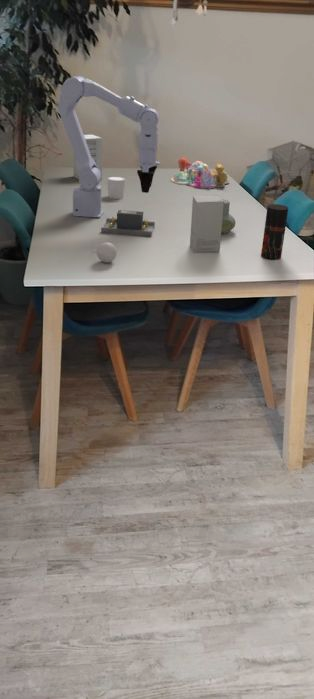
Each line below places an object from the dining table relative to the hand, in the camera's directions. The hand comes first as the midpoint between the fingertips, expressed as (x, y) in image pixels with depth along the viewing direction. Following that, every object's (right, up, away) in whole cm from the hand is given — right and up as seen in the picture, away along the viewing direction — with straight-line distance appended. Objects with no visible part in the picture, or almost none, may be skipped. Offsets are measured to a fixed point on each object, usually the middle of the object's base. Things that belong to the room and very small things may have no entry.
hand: (146, 189), depth 216 cm
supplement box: (-26, +18, +53) cm, 62 cm away
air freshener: (+24, -15, -4) cm, 28 cm away
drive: (-5, -14, -8) cm, 17 cm away
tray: (-6, -15, -8) cm, 18 cm away
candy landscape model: (+22, +17, +58) cm, 64 cm away
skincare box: (+18, -24, -21) cm, 36 cm away
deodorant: (+38, -26, -24) cm, 52 cm away
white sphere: (-12, -29, -36) cm, 48 cm away
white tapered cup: (-12, +4, +28) cm, 31 cm away
